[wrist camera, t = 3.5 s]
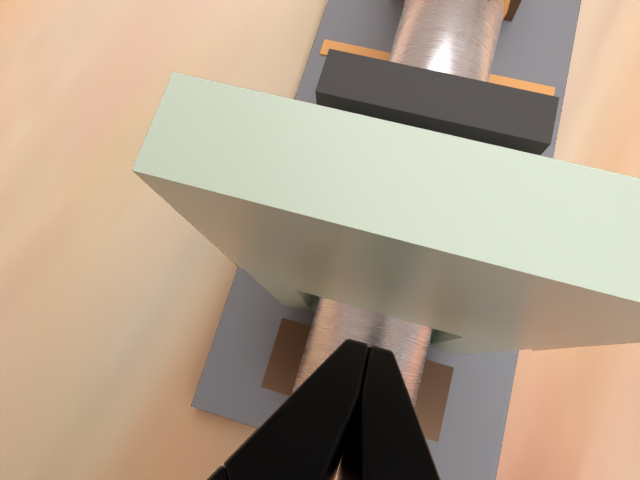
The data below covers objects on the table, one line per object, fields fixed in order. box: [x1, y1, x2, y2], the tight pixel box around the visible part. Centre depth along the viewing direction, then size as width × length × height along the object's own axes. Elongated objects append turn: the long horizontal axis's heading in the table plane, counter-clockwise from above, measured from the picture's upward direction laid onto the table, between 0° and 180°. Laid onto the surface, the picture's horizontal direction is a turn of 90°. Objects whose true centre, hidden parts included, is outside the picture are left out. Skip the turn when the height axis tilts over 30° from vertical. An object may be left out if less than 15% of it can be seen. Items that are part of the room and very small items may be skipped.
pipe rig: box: [191, 0, 581, 480], centre depth 15 cm, size 21×10×6 cm, turn 164°
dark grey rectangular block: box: [315, 49, 559, 155], centre depth 13 cm, size 1×5×5 cm, turn 74°
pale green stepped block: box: [132, 72, 640, 355], centre depth 10 cm, size 4×6×11 cm, turn 74°
